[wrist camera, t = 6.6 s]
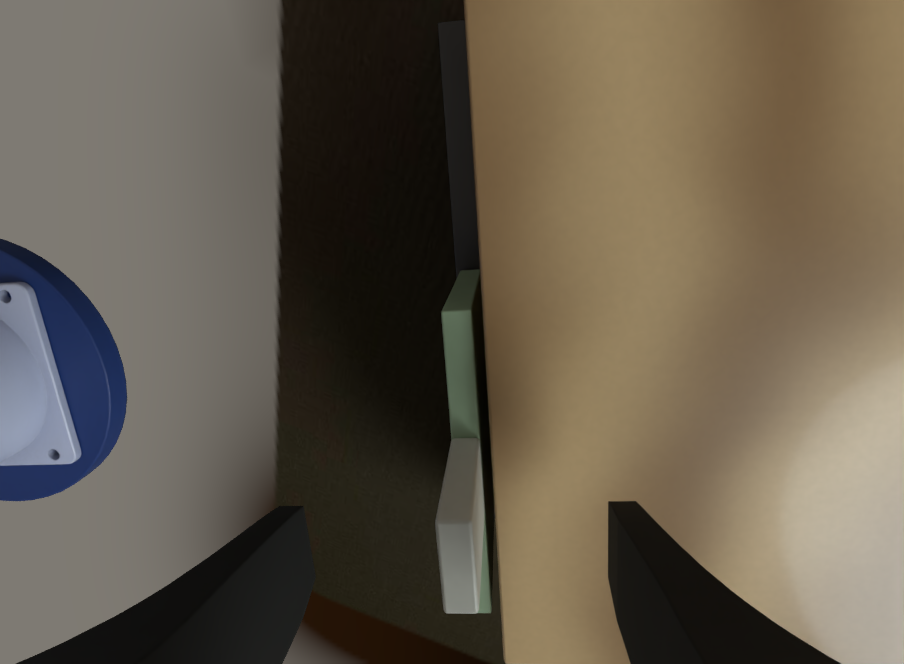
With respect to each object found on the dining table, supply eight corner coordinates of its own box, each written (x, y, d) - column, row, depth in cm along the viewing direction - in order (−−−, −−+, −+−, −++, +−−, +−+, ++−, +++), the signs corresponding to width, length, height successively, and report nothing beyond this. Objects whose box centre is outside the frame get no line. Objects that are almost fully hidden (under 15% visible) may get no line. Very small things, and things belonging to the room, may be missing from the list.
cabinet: (474, 514, 24) (462, 663, 16) (438, 25, 18) (396, -77, 11) (780, 512, 22) (916, 673, 15) (837, -20, 17) (1087, -169, 10)
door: (475, 493, 23) (454, 737, 13) (459, 270, 20) (418, 358, 10) (494, 493, 22) (488, 739, 13) (481, 269, 20) (459, 356, 10)
